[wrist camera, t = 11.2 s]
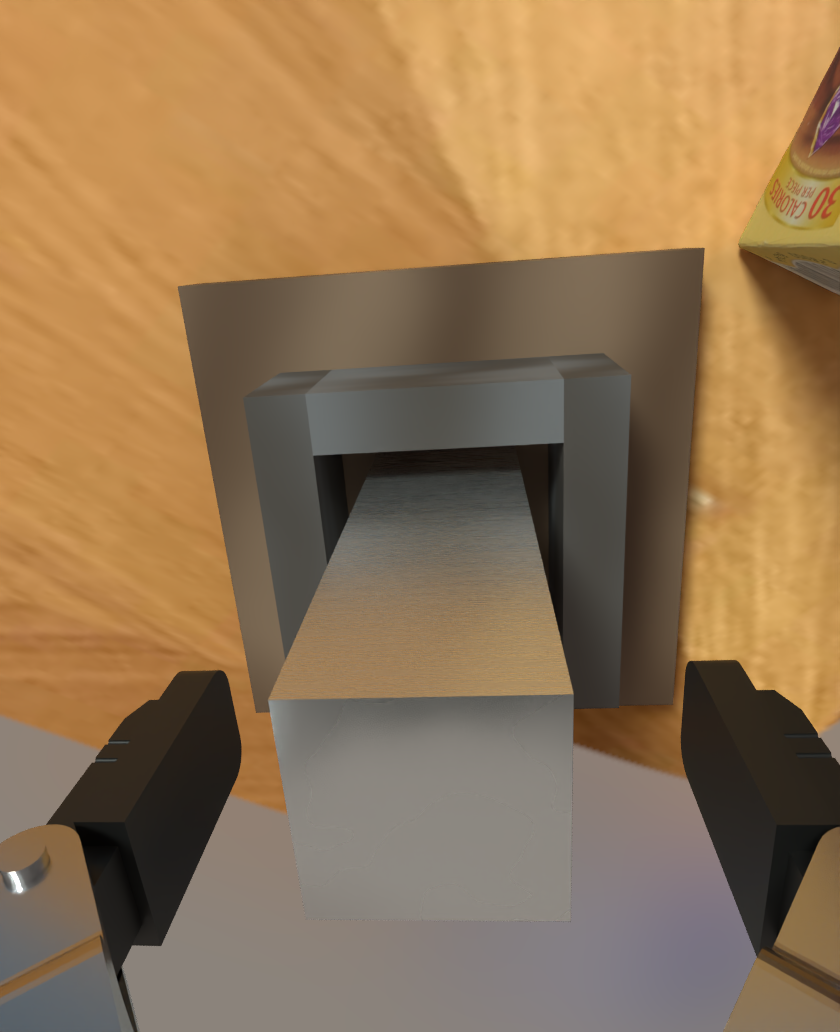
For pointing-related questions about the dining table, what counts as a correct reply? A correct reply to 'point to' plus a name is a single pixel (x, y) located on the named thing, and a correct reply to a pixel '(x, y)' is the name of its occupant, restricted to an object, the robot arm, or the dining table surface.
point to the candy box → (805, 196)
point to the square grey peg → (431, 705)
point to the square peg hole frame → (463, 433)
